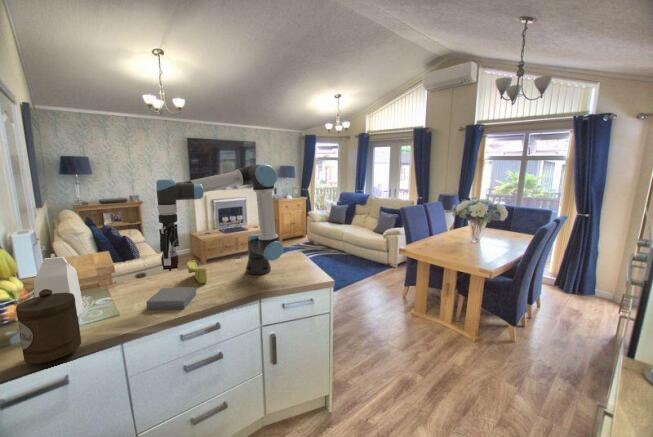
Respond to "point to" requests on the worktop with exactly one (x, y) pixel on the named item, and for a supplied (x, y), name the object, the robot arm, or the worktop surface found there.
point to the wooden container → (48, 326)
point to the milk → (58, 279)
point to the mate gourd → (173, 259)
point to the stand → (171, 298)
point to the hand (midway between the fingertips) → (171, 262)
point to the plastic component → (197, 271)
